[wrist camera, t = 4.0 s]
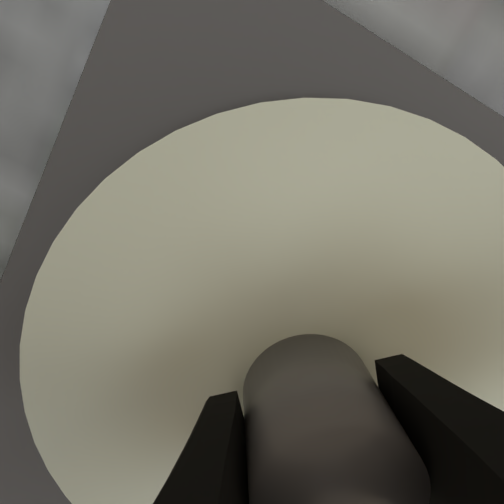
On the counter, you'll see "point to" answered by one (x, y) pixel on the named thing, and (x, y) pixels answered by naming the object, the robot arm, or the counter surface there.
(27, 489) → the mat
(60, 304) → the lid
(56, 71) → the counter surface
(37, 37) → the counter surface
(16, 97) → the counter surface
